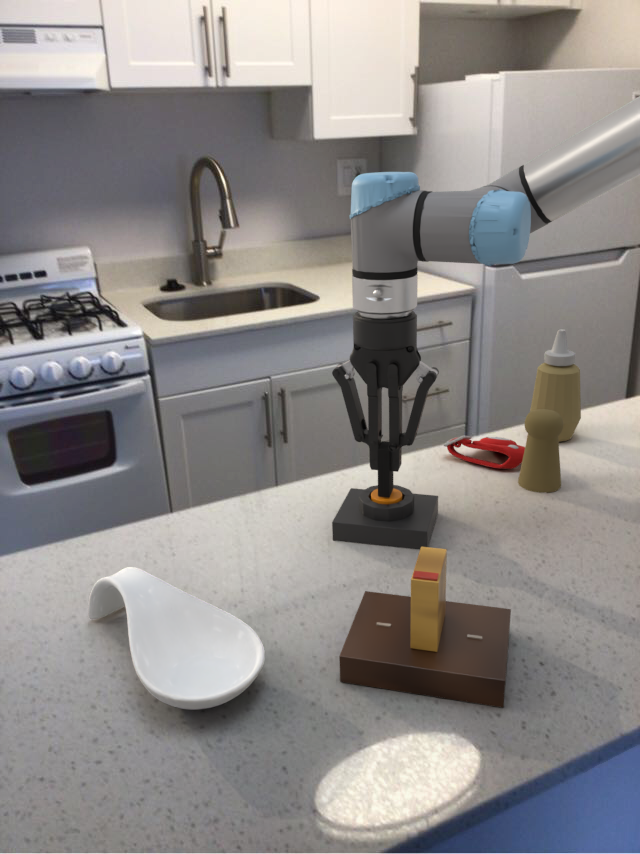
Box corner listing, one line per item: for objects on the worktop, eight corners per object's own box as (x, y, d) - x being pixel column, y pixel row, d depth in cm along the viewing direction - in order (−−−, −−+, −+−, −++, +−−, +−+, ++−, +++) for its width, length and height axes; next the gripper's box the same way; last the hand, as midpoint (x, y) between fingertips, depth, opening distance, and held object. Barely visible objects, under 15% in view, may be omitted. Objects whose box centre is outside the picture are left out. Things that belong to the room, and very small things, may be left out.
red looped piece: (506, 436, 123) (543, 443, 114) (502, 463, 123) (540, 472, 114) (440, 430, 119) (473, 437, 110) (437, 458, 119) (469, 467, 110)
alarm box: (437, 513, 102) (438, 483, 100) (427, 551, 93) (427, 518, 91) (351, 505, 105) (350, 476, 103) (332, 540, 96) (331, 509, 94)
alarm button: (404, 500, 99) (404, 488, 98) (399, 514, 95) (399, 502, 95) (374, 498, 100) (374, 486, 99) (368, 512, 96) (367, 499, 96)
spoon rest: (291, 682, 71) (287, 618, 69) (190, 753, 64) (182, 684, 61) (150, 590, 87) (142, 535, 84) (55, 637, 79) (43, 579, 77)
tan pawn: (509, 484, 109) (513, 412, 105) (533, 471, 113) (538, 401, 109) (545, 497, 105) (551, 423, 101) (569, 483, 109) (576, 411, 105)
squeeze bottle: (531, 425, 130) (538, 322, 124) (580, 430, 127) (590, 325, 121) (525, 442, 123) (532, 335, 117) (577, 448, 120) (587, 338, 114)
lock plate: (509, 633, 77) (511, 607, 76) (503, 708, 67) (505, 679, 66) (365, 614, 81) (365, 589, 80) (340, 682, 71) (338, 654, 70)
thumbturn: (420, 611, 76) (421, 544, 73) (445, 614, 75) (446, 546, 73) (410, 648, 71) (410, 577, 68) (437, 652, 70) (438, 580, 67)
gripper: (322, 316, 87) (329, 500, 95) (436, 320, 83) (432, 510, 92) (338, 303, 94) (343, 476, 102) (444, 305, 90) (440, 484, 99)
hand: (385, 492), depth 97 cm, fingers closed
